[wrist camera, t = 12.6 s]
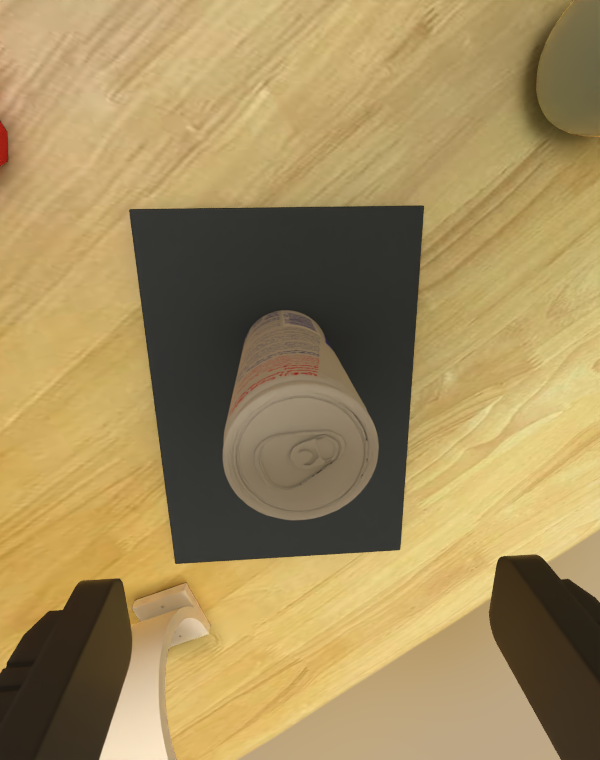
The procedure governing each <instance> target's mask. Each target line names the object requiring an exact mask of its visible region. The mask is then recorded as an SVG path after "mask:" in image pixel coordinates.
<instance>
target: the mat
mask: <svg viewBox="0 0 600 760" xmlns="http://www.w3.org/2000/svg"><path fill="white" fill-rule="evenodd" d="M129 212H130V220H131V228H132V235H133V243H134V251H135V258H136V266H137V274H138V281H139V289H140V297H141V304H142V312H143V319H144V327H145V335H146V342H147V350H148V358H149V365H150V373H151V381H152V388H153V396H154V404H155V411H156V419H157V427H158V434H159V442H160V450H161V457H162V465H163V473H164V480H165V488H166V496H167V503H168V511H169V519H170V526H171V534H172V542H173V549H174V557H175V563H176V564H181V563H197V562H213V561H229V560H246V559H262V558H278V557H294V556H311V555H327V554H343V553H359V552H375V551H392V550H400V545H401V530H402V516H403V502H404V487H405V473H406V458H407V444H408V429H409V415H410V401H411V386H412V372H413V357H414V343H415V328H416V314H417V300H418V285H419V271H420V256H421V242H422V227H423V213H424V206H357V207H277V208H198V209H130V210H129ZM281 310H291V311H296V312H300V313H302V314H305V315H306V316H308V317H310V318H311V319H312V320H314V321H315V322H316V323H317V324H318V325H319V327H320V328H321V330H322V331H323V333H324V335H325V336H326V338H327V340H328V342H329V344H330V345H331V347H332V349H333V351H334V352H335V354H336V356H337V358H338V360H339V361H340V363H341V365H342V367H343V368H344V370H345V372H346V374H347V375H348V377H349V379H350V381H351V383H352V384H353V386H354V388H355V390H356V391H357V393H358V395H359V397H360V399H361V400H362V402H363V404H364V406H365V407H366V410H367V412H368V414H369V416H370V417H371V419H372V421H373V423H374V426H375V429H376V432H377V435H378V444H379V450H378V460H377V464H376V467H375V470H374V472H373V474H372V477H371V478H370V480H369V482H368V484H367V485H366V486H365V487H364V489H363V490H362V491H361V492H360V493H359V494H358V495H357V496H356V497H355V498H354V499H353V500H352V501H351V502H349V503H348V504H347V505H345V506H343V507H342V508H340V509H338V510H337V511H334V512H332V513H329V514H327V515H324V516H321V517H317V518H313V519H307V520H285V519H280V518H275V517H271V516H267V515H265V514H262V513H260V512H258V511H256V510H255V509H253V508H251V507H250V506H248V505H247V504H246V503H245V502H244V501H243V500H242V499H240V498H239V497H238V495H237V494H236V493H235V492H234V490H233V489H232V487H231V486H230V484H229V482H228V480H227V477H226V475H225V471H224V466H223V446H224V442H223V440H224V430H225V426H226V421H227V417H228V413H229V408H230V404H231V399H232V395H233V391H234V386H235V382H236V377H237V373H238V368H239V364H240V360H241V355H242V351H243V346H244V341H245V338H246V336H247V333H248V331H249V330H250V329H251V327H252V326H253V325H254V324H255V323H256V322H257V321H258V320H259V319H260V318H262V317H263V316H265V315H267V314H269V313H272V312H276V311H281Z"/></svg>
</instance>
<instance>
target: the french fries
mask: <svg viewBox="0 0 600 760" xmlns="http://www.w3.org/2000/svg"><path fill="white" fill-rule="evenodd" d="M6 162H8V148H7V131H6V129H5V128H4V126H3V125H2V123H1V122H0V166H2V165H3V164H5V163H6Z"/></svg>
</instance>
